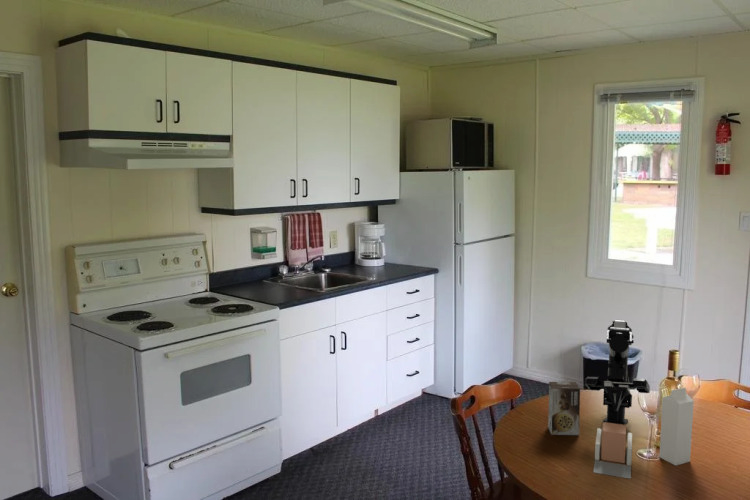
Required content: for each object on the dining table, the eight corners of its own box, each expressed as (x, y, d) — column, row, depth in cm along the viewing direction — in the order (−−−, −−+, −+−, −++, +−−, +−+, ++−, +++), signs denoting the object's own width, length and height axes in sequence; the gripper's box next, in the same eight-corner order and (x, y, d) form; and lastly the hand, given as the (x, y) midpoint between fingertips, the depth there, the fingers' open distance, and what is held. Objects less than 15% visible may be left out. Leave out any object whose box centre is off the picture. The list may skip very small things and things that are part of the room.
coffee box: (575, 427, 210) (576, 381, 208) (579, 435, 204) (581, 388, 202) (547, 426, 211) (548, 380, 209) (550, 435, 205) (552, 387, 203)
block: (602, 449, 194) (603, 422, 193) (624, 453, 191) (626, 425, 190) (601, 459, 187) (602, 430, 186) (624, 463, 185) (625, 434, 184)
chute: (596, 443, 199) (597, 428, 198) (631, 448, 195) (631, 433, 194) (593, 472, 180) (593, 456, 179) (631, 478, 176) (631, 462, 175)
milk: (690, 462, 186) (695, 390, 183) (675, 465, 183) (680, 393, 180) (673, 453, 191) (677, 384, 188) (658, 457, 189) (662, 387, 186)
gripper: (653, 373, 204) (652, 421, 197) (594, 371, 214) (591, 416, 207) (646, 361, 196) (645, 410, 189) (586, 359, 206) (582, 405, 199)
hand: (615, 411), depth 196 cm, fingers closed
